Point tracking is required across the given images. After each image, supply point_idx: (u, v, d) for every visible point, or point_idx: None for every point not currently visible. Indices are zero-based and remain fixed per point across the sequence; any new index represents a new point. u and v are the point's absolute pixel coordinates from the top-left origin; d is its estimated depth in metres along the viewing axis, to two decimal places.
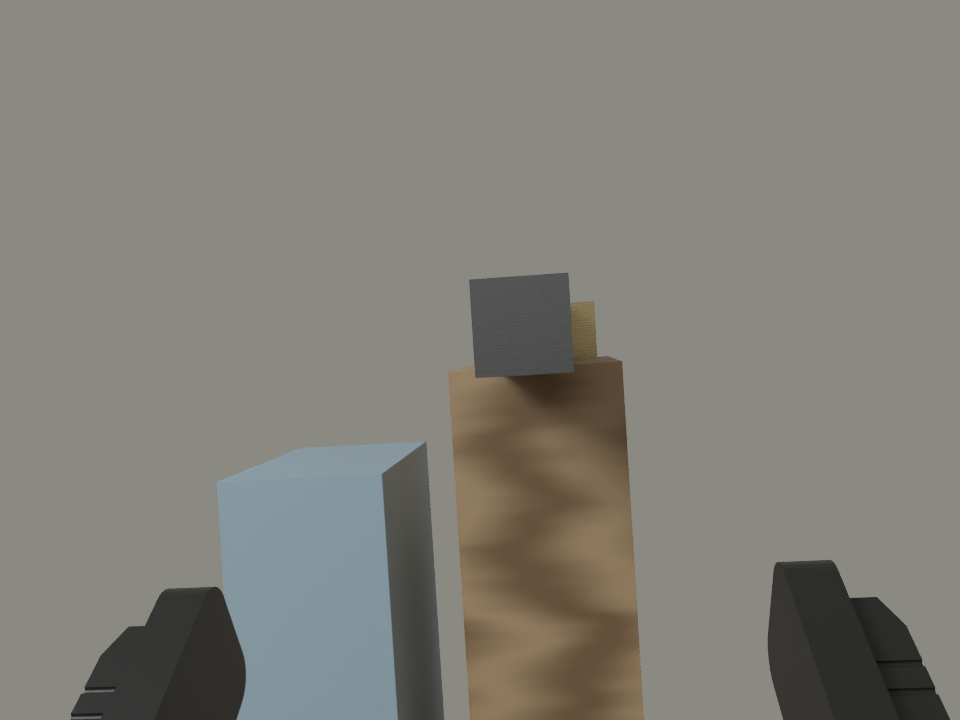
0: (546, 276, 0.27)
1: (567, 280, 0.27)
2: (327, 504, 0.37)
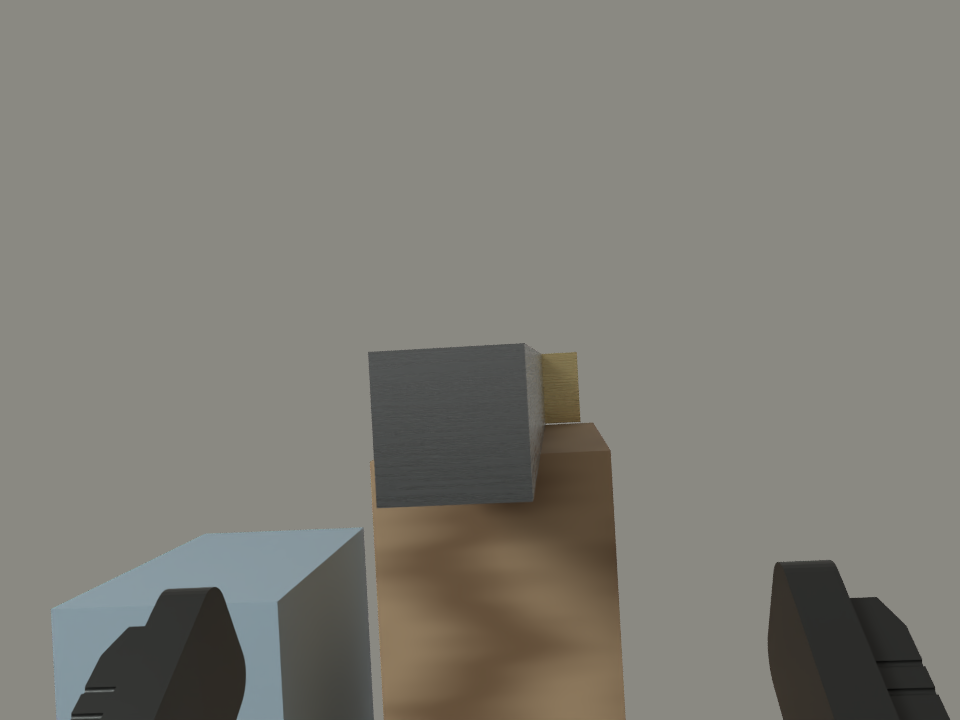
0: (490, 348, 0.17)
1: (523, 355, 0.17)
2: None
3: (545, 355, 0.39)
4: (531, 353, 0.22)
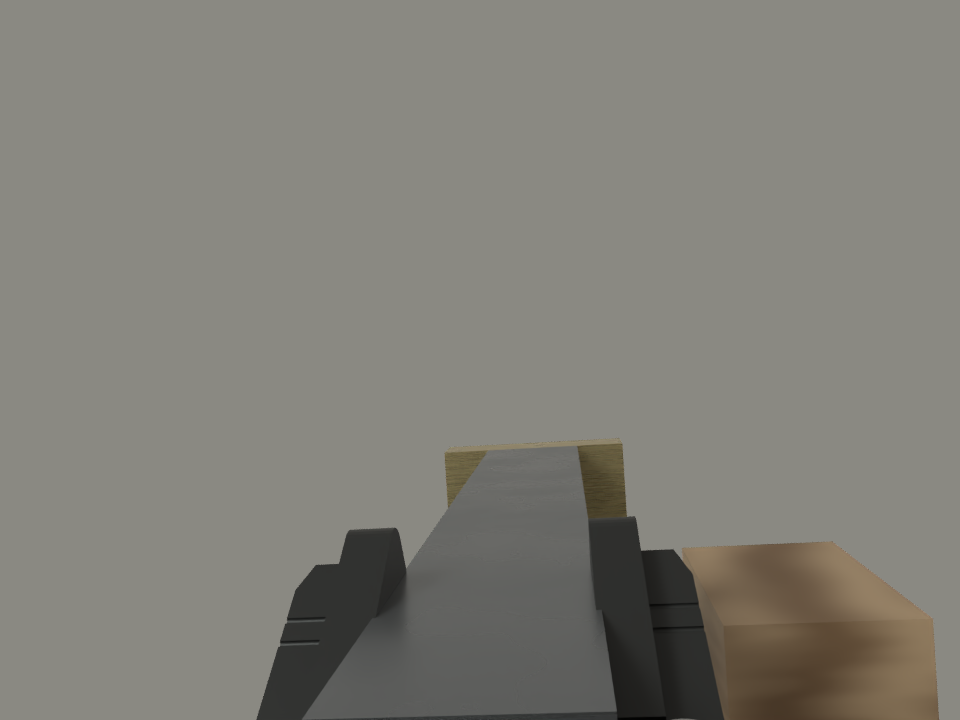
0: (546, 718, 0.08)
1: None
2: None
3: (582, 447, 0.30)
4: None
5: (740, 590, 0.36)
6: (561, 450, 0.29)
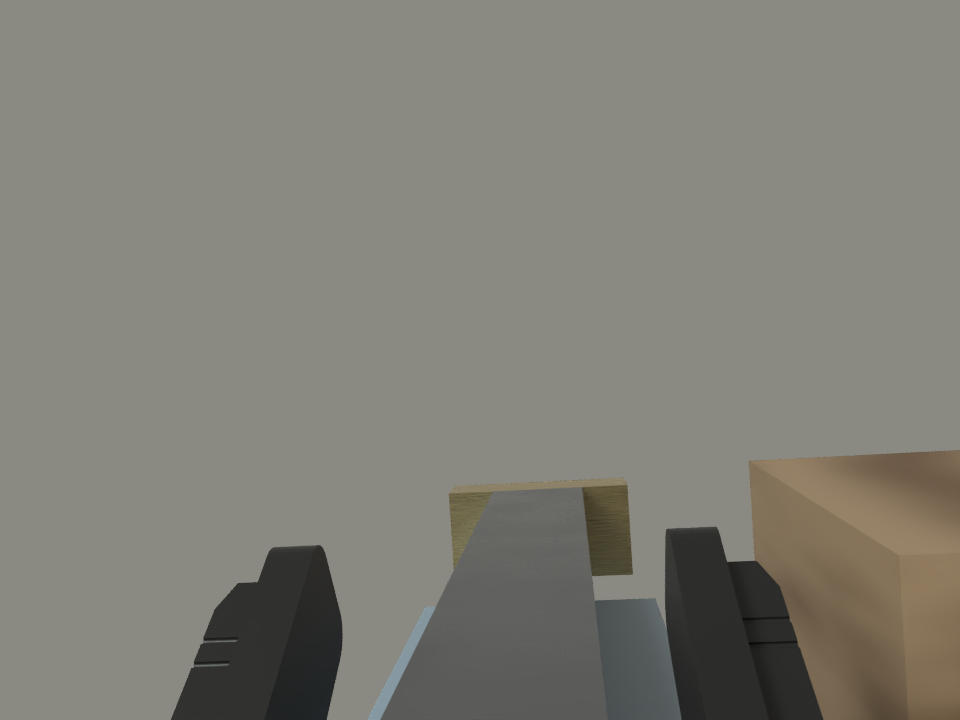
0: None
1: None
2: None
3: (586, 488, 0.30)
4: None
5: (890, 505, 0.19)
6: (566, 493, 0.29)
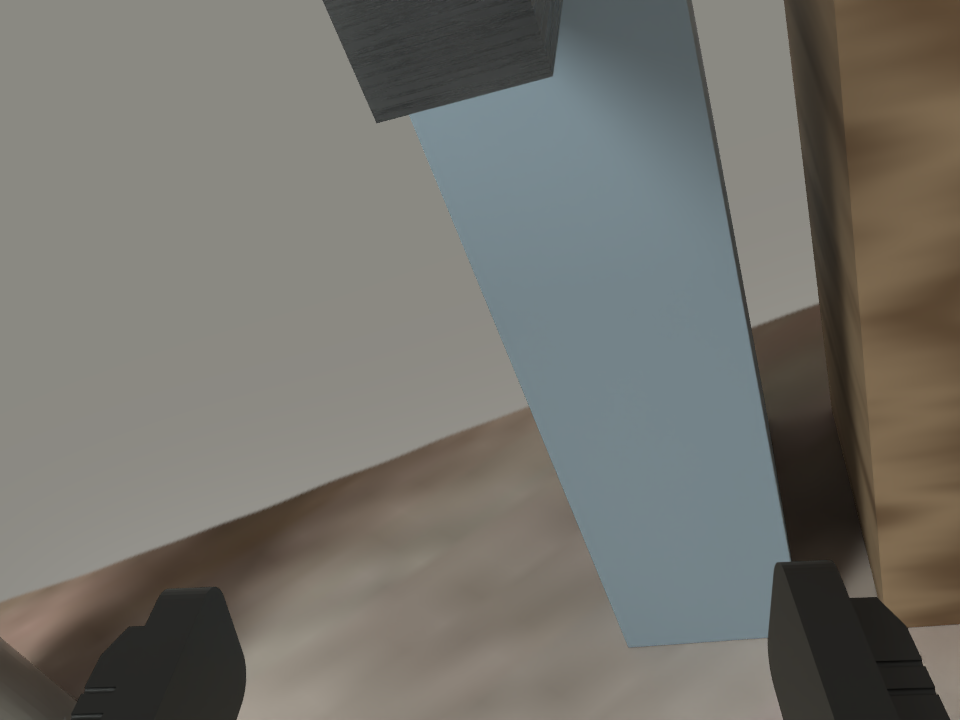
0: None
1: None
2: None
3: None
4: None
5: None
6: None
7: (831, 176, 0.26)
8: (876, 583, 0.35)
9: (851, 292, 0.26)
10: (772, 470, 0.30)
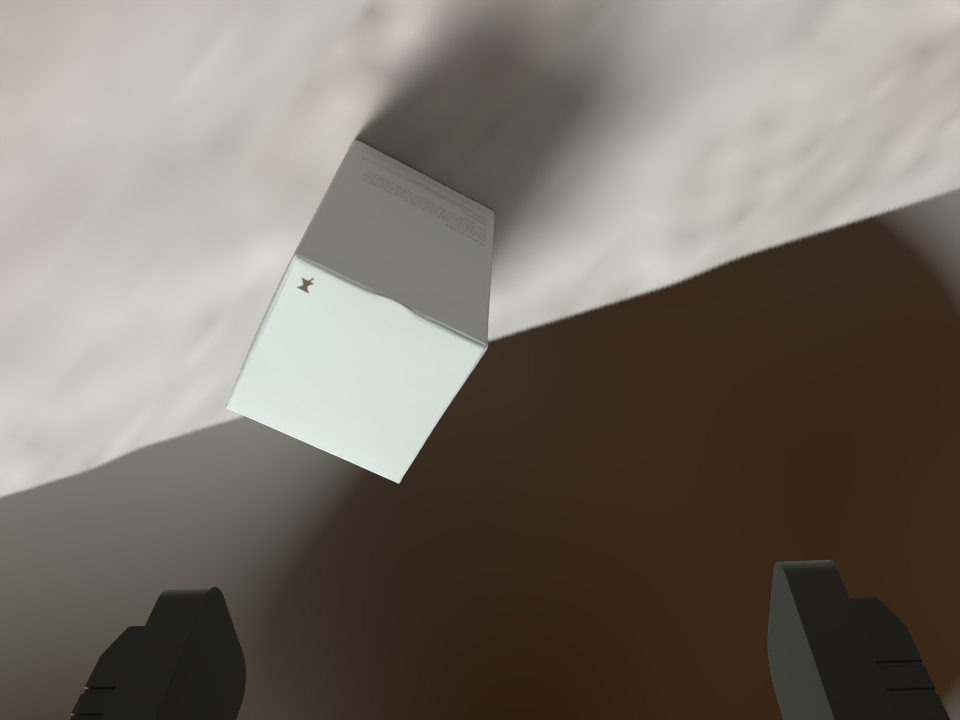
0: None
1: None
2: None
3: None
4: None
5: None
6: None
7: None
8: None
9: None
10: None
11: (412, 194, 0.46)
